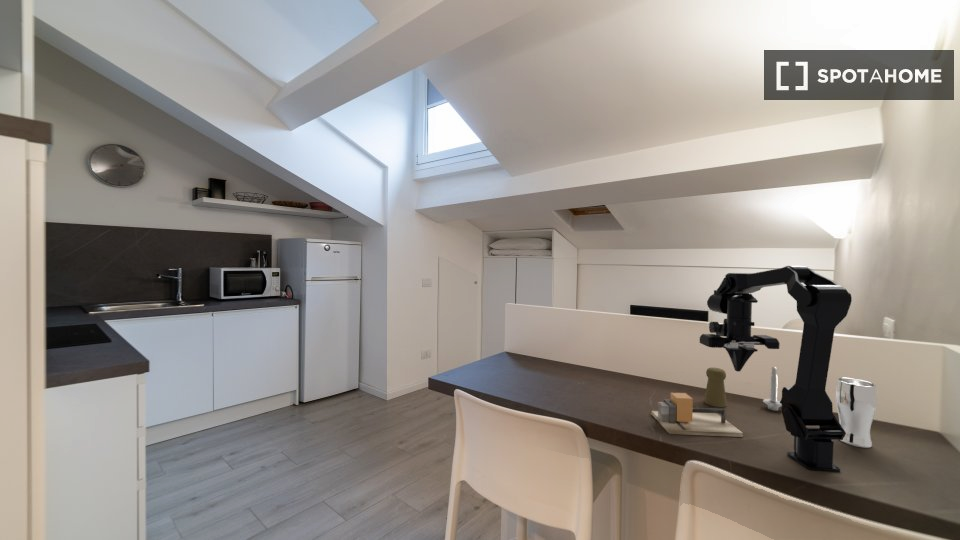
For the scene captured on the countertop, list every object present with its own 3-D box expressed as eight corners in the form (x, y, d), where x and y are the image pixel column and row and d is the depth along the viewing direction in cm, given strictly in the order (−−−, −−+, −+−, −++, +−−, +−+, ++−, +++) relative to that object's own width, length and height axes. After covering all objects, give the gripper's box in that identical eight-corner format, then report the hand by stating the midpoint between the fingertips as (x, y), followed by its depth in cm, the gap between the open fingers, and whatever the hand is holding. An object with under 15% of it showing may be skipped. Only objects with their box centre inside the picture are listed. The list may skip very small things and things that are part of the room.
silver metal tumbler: (832, 432, 95) (834, 375, 95) (871, 440, 91) (873, 381, 90) (836, 442, 90) (838, 382, 89) (877, 452, 85) (879, 388, 85)
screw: (776, 413, 107) (759, 407, 111) (787, 411, 108) (769, 404, 113) (778, 369, 106) (760, 364, 111) (788, 367, 108) (770, 363, 112)
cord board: (743, 436, 92) (743, 413, 92) (669, 433, 94) (669, 410, 94) (716, 416, 104) (717, 395, 104) (651, 414, 106) (651, 393, 106)
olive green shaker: (730, 408, 110) (731, 372, 110) (708, 406, 112) (709, 370, 111) (721, 400, 116) (722, 366, 116) (700, 398, 118) (701, 365, 117)
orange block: (692, 421, 97) (692, 398, 97) (676, 421, 98) (677, 398, 97) (685, 415, 101) (685, 393, 101) (670, 414, 102) (670, 392, 101)
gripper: (754, 313, 111) (753, 363, 112) (690, 312, 113) (689, 362, 113) (781, 319, 100) (780, 375, 101) (710, 318, 102) (709, 373, 102)
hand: (737, 371), depth 104 cm, fingers closed
